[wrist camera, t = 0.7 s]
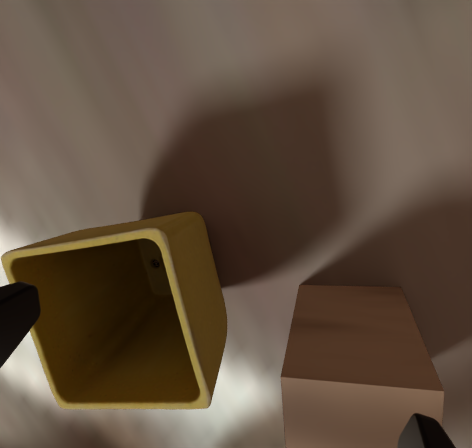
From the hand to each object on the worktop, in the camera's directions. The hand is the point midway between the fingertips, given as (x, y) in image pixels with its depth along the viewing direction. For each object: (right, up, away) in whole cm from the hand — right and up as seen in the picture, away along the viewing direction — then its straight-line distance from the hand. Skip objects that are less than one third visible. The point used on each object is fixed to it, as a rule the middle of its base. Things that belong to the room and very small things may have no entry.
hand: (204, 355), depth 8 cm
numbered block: (+8, -4, +15) cm, 17 cm away
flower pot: (-3, 0, +17) cm, 17 cm away
